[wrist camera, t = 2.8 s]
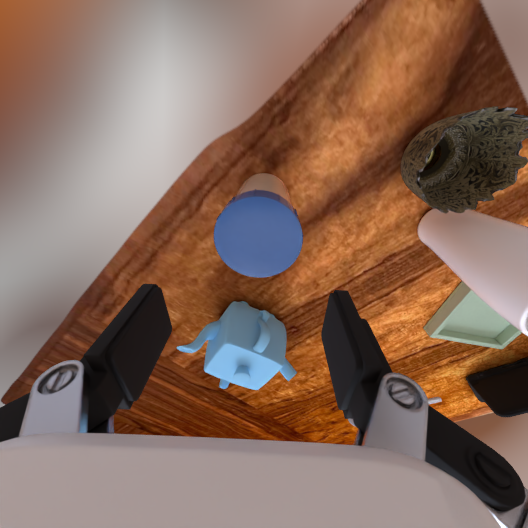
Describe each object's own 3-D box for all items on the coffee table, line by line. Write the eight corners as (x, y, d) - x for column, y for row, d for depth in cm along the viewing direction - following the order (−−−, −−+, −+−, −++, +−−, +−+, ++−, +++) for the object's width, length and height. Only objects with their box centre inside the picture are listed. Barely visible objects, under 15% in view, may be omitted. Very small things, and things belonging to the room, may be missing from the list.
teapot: (314, 319, 37) (326, 378, 28) (269, 363, 43) (268, 421, 35) (214, 270, 32) (192, 322, 24) (181, 327, 39) (155, 384, 30)
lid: (222, 181, 17) (217, 187, 15) (310, 199, 17) (314, 207, 16) (215, 258, 20) (210, 269, 19) (288, 271, 21) (290, 284, 19)
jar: (241, 167, 25) (223, 191, 16) (295, 179, 25) (307, 208, 16) (234, 219, 28) (216, 264, 19) (282, 229, 28) (286, 276, 19)
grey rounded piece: (450, 181, 25) (517, 202, 18) (380, 198, 26) (418, 223, 19) (463, 101, 21) (553, 89, 14) (380, 125, 22) (427, 124, 15)
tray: (475, 264, 30) (486, 272, 28) (558, 280, 31) (574, 289, 29) (422, 327, 37) (429, 337, 35) (492, 339, 38) (502, 349, 36)
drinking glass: (473, 231, 28) (644, 321, 15) (416, 256, 30) (522, 354, 17) (464, 183, 25) (666, 245, 12) (402, 215, 27) (516, 295, 14)
